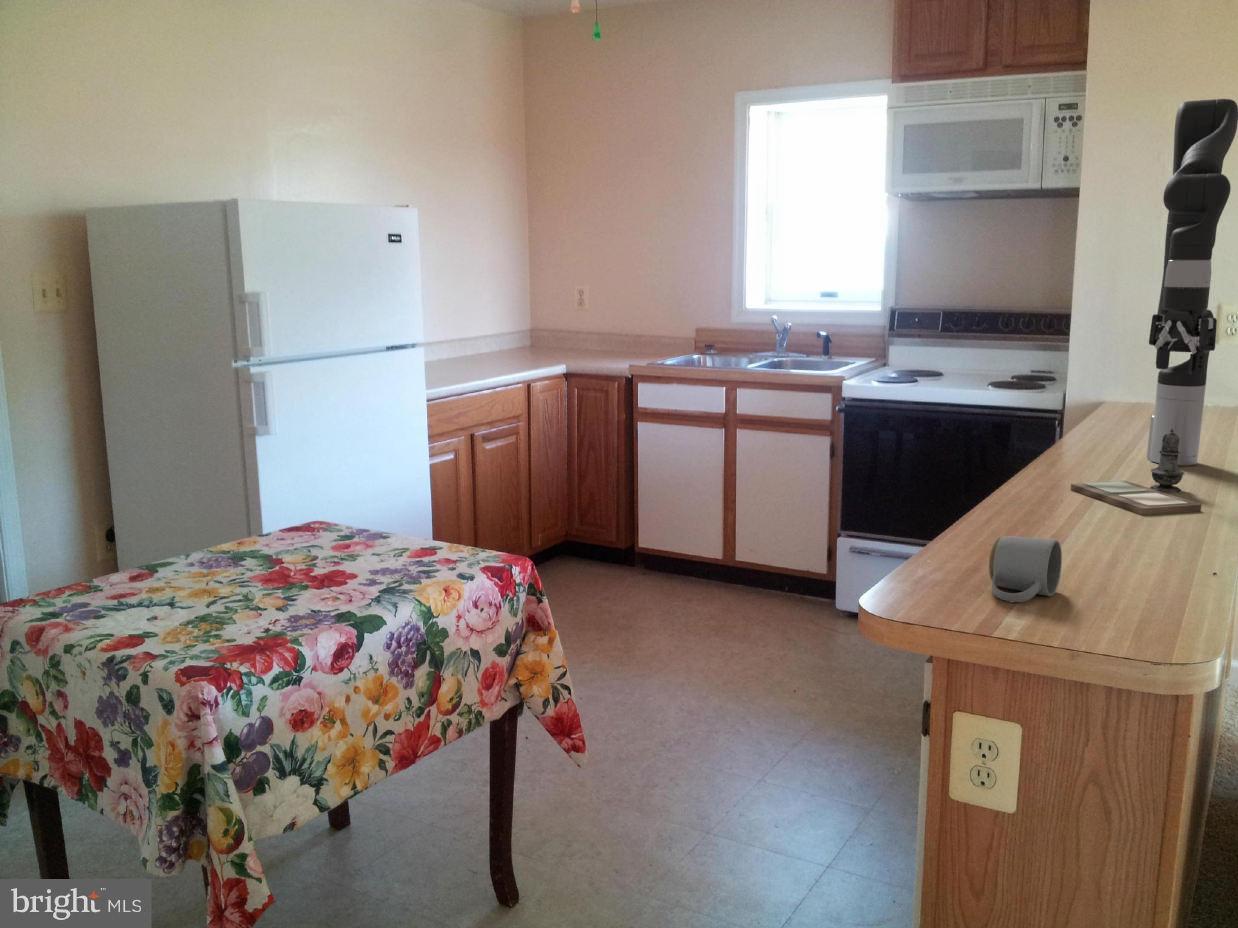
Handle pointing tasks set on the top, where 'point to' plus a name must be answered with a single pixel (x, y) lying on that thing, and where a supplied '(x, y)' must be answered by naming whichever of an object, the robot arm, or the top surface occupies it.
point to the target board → (1135, 497)
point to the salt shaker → (1168, 465)
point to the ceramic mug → (1025, 567)
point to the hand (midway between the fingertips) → (1178, 371)
